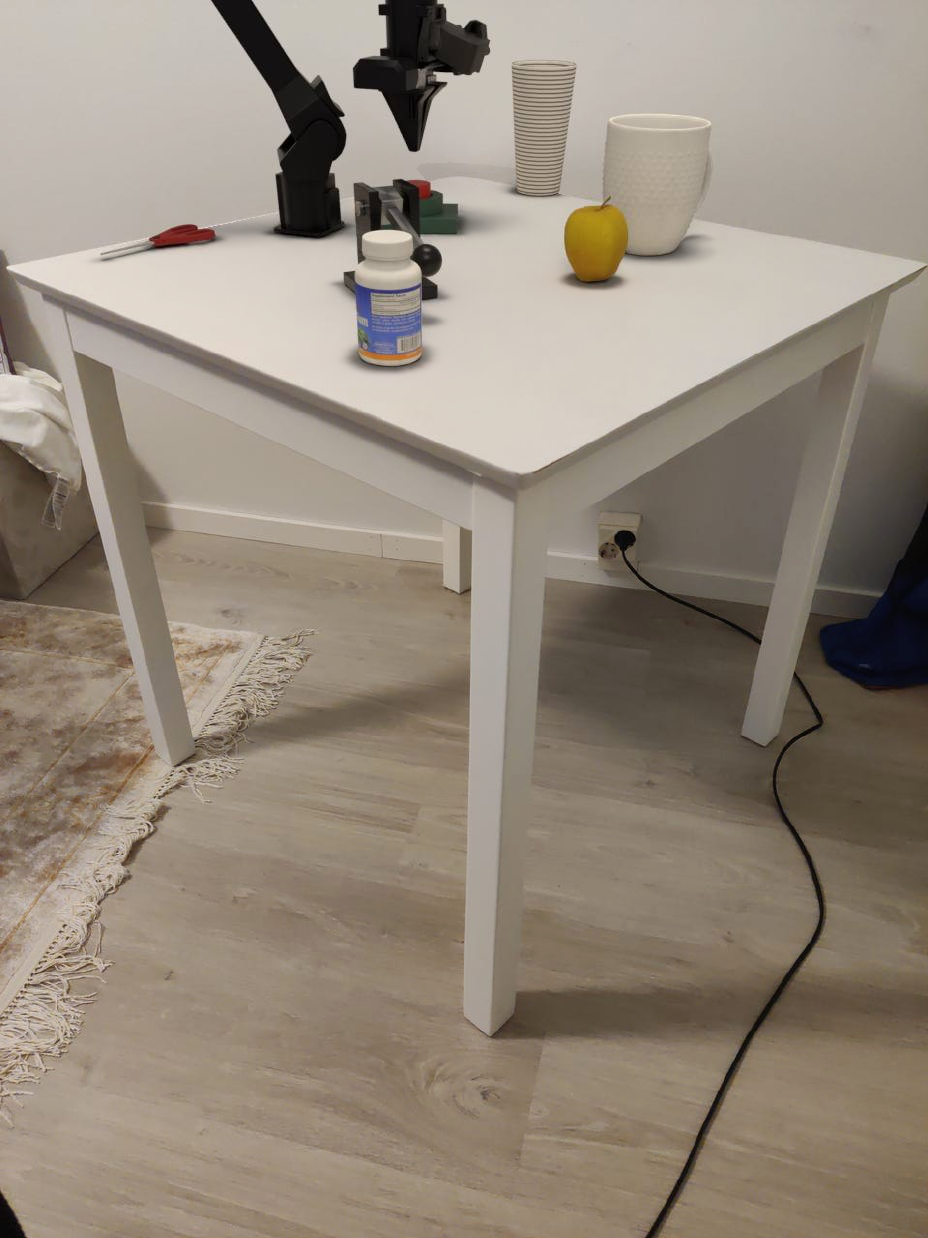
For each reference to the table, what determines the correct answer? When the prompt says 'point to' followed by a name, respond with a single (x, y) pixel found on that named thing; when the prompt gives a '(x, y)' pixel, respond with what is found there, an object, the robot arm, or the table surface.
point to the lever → (407, 230)
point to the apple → (595, 241)
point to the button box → (435, 215)
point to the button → (422, 187)
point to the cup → (541, 122)
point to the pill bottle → (388, 299)
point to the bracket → (370, 221)
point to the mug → (656, 176)
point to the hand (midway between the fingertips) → (414, 151)
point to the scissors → (174, 237)
